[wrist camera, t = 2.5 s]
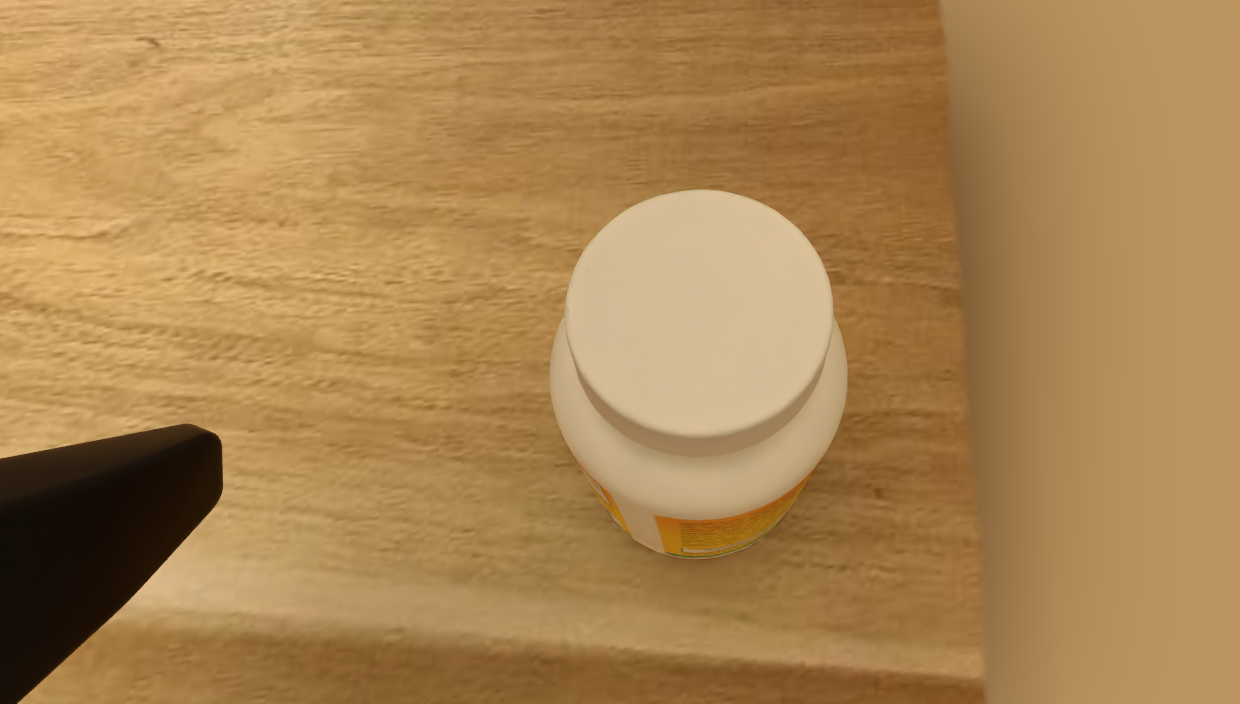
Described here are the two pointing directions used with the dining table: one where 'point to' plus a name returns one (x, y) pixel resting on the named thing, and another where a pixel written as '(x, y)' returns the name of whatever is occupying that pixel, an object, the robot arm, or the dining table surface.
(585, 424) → the supplement bottle
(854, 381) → the dining table surface
